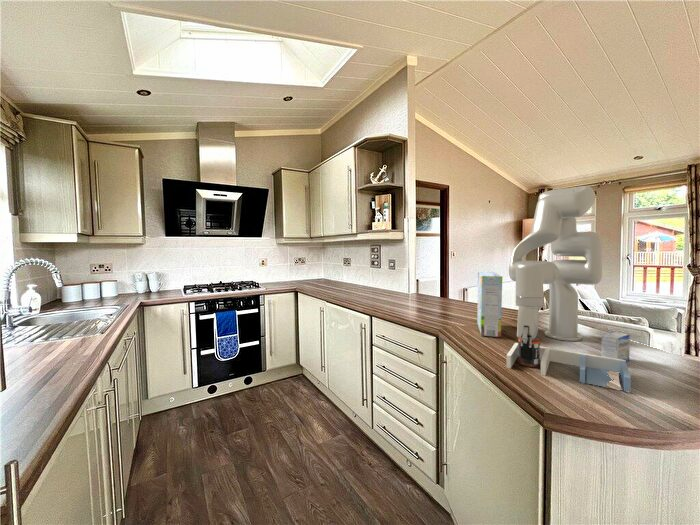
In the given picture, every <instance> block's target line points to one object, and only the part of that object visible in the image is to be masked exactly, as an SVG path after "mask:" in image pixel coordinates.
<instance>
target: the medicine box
mask: <svg viewBox="0 0 700 525" xmlns="http://www.w3.org/2000/svg"><path fill="white" fill-rule="evenodd" d="M630 340H631V337H630V334H627V333H622V332H618V331H612V332H610V333H607V334H604V335H601V356H603V357H609V358H616V359H622V360H626V362H629V361H630V342H631V341H630ZM628 360H629V361H628Z"/></svg>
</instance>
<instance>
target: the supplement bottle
mask: <svg viewBox="0 0 700 525" xmlns="http://www.w3.org/2000/svg"><path fill="white" fill-rule="evenodd" d="M528 337H530V336H528ZM517 339H518V341H517V343H518V357H517V358H518V360H517V361H518V363H519V364H520V365H521V366H524V367H528V368H537V367H539V366H540V364H541V359H540V347H541V345H540V344H541V343H540V342H541V341H540V337H538V336H536V337H535V339H533V340H532V347H533V359H532V360H527V359H522V358H521V339H522V336H521V337H520V338H518V337H517ZM529 342H530V340H529Z"/></svg>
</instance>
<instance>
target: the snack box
mask: <svg viewBox="0 0 700 525" xmlns="http://www.w3.org/2000/svg"><path fill="white" fill-rule="evenodd" d="M502 294H503V276H502V275H500V273H497V272H495V271H478V272H477V308H476V309H477V310H476V311H477V321H476V322H477V323H476V324H477V326H478V330H479V334H480V336H482V337H485V336H486V337H492V338H501V336H502V305H503V304H502V303H503V302H502V300H503V299H502V298H503V295H502Z"/></svg>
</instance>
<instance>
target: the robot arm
mask: <svg viewBox="0 0 700 525" xmlns="http://www.w3.org/2000/svg"><path fill="white" fill-rule="evenodd" d="M595 194H596V193H595V190H594V188H592V187H591V186H590V185H581V186H575V187H574V186H573V187H564V188H557V189H551V190H547V191H544V192H542V193H540V194H539V196H538V198H537V200H538V201H537V203H536V206H535V211H534V216H533V221H532V225H531V230H530V232H529V234H528V235H527V236H525V237H524V238H523V239H522V240H521V241H519V243H517V245H516V246H515V247H514V248H513V251H512V252H511V255H510V260H509V266H508V277H509V278H510V280H511V281H513V282H515V307H518V311H517V320H516V321H517V324H516V325H517V326H516V337H517V339H518V338H520V337H521V336H522V339H521V358H522V359H527V360H532V359H533V347H532V340H533V339H535V337H536V336H537V335H538V334H539V333H538V332H539V318H540V316H539V311H540V309H542V308H543V307H544V285H548V287H549V289H548V290H549V291H548V292H549V307H548V309H549V311H548V312H549V313H548V314H549V315H548V316H549V318H548V319H549V320H548V321H549V322H548V323H549V327H548V329H547V330H545V331H544V335H545V336H546V337H548V338H551V339H553V340H554V339H555V340H559V341H565V342H566V341H567V342H568V341H569V342H576V341H577V342H579V341H581V340H583V334H580V333H579V329H578V328H579V327H578V326H579V318H578V317H579V293H578V291H577V290H576V288H574V287H573V284H574V285H590V286H591V285H592V286H594V285H597V284H599V283H601V280H602V275H603V259H602V258H603V257H602V256H603V250H602V248H603V247H602V246H603V245H602V239H601V236H600V234H599V233H597V232H596V231H577V218H580V217H583V216H584V215H586V214H587V212H588V211H589V210H590V209H591V208H592V207H593V205H594V203H595V199H596V195H595ZM549 244H550V250H551V253H552V254H553V255H554V256H557V257H583V258H585V259H554V260H552V261H546V260H524V258H525V257H526V255H528V254H529V253H531V252H532V251H533V250H534V251H535V250H536V249H538V248H541V247H544V246H547V245H549ZM528 336H530V337H528ZM537 337H538V336H537ZM529 340H530V342H529Z"/></svg>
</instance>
